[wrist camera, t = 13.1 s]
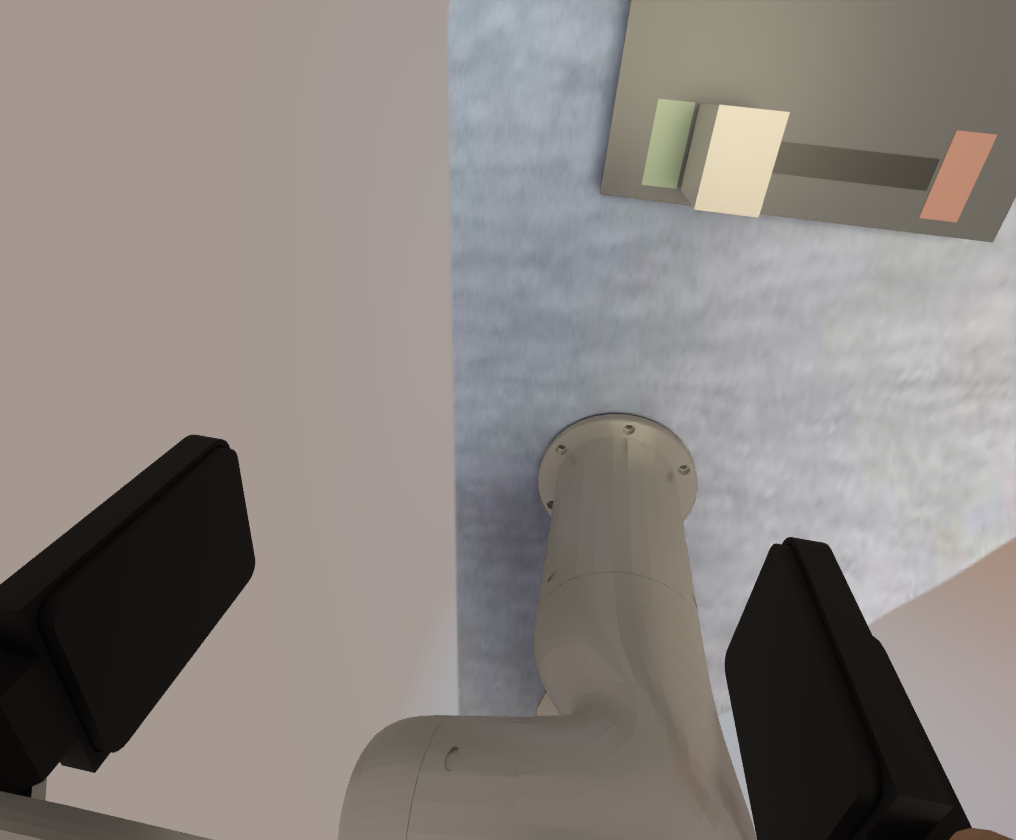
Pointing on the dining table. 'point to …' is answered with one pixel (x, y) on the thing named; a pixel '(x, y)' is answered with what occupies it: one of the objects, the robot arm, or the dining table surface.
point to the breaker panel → (831, 106)
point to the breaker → (732, 158)
